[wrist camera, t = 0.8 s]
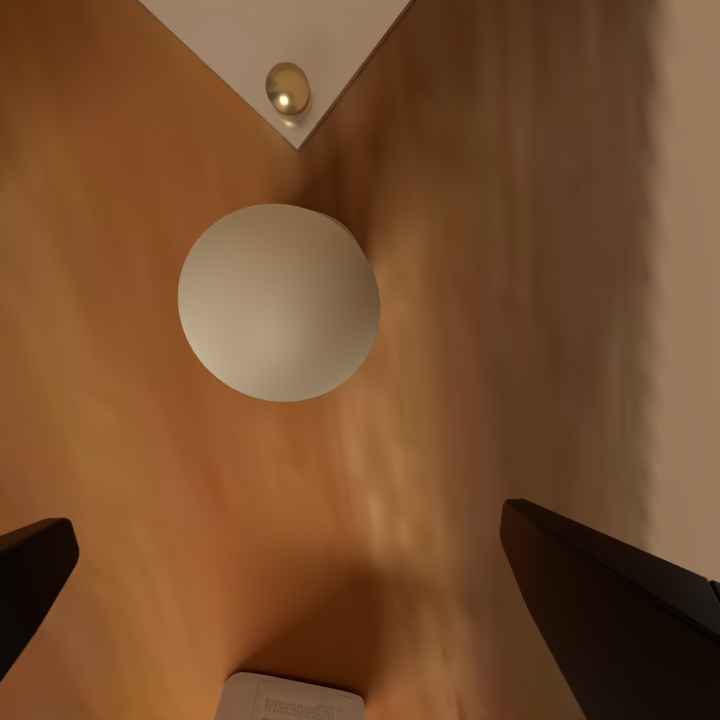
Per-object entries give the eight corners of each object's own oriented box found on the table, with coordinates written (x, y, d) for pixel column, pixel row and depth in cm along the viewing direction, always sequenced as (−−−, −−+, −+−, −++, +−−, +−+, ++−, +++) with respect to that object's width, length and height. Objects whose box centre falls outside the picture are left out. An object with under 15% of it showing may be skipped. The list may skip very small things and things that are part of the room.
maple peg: (236, 271, 20) (138, 320, 10) (303, 187, 19) (260, 153, 9) (318, 337, 21) (296, 435, 11) (384, 261, 20) (421, 300, 10)
